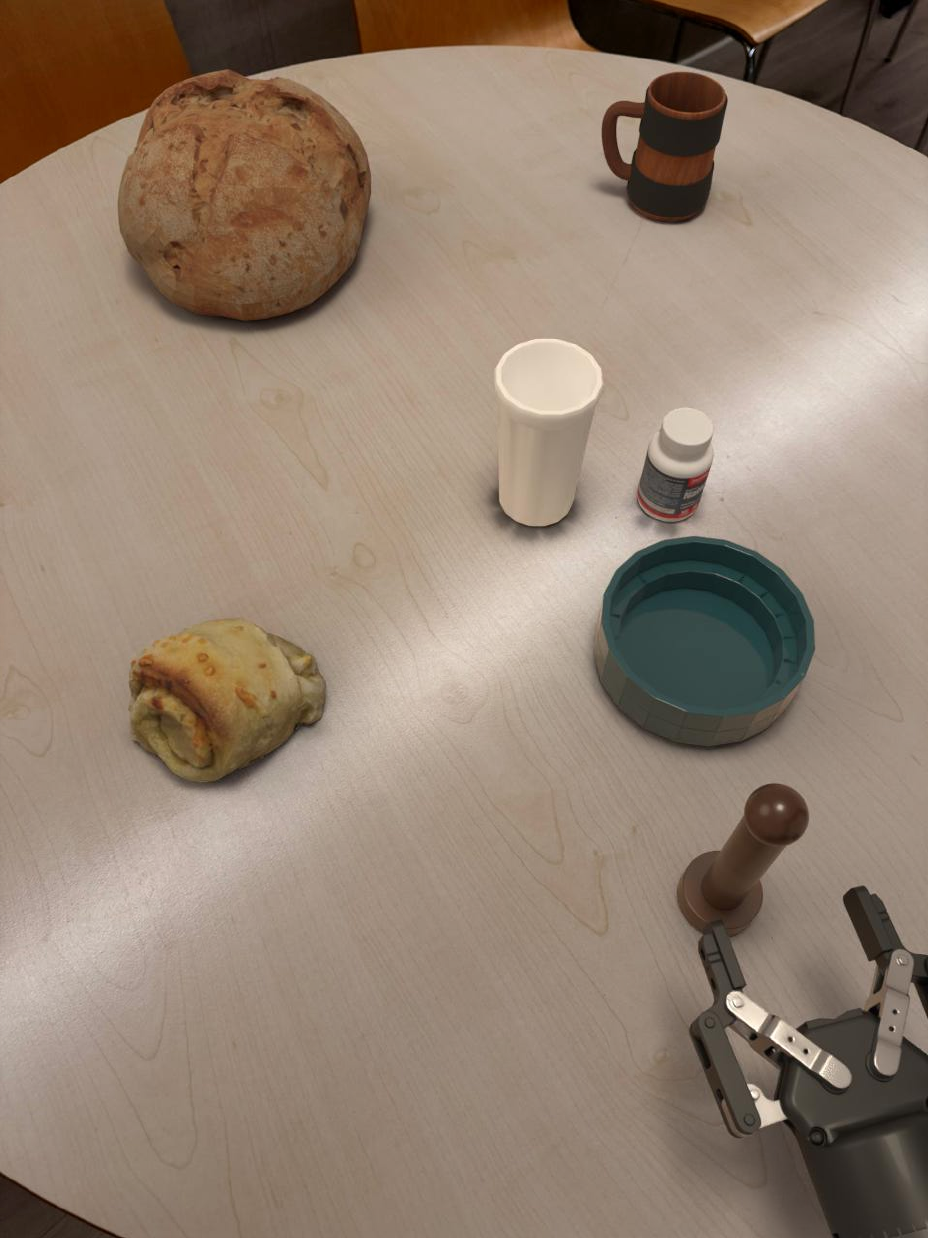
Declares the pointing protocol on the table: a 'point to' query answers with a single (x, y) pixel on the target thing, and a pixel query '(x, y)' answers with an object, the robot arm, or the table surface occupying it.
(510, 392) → the cup
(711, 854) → the pestle
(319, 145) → the bread
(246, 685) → the pastry
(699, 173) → the mug
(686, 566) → the bowl
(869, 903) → the robot arm
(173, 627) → the table surface
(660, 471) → the pill bottle
